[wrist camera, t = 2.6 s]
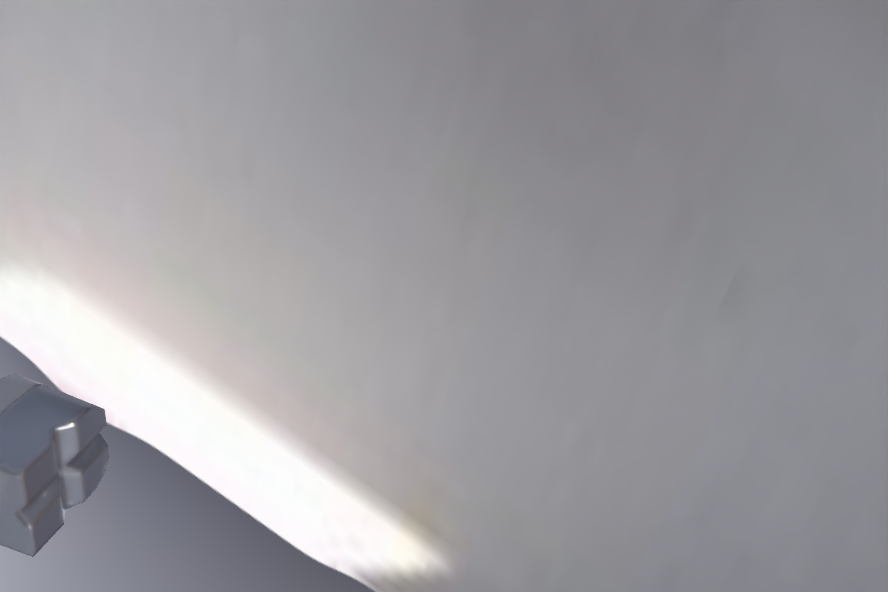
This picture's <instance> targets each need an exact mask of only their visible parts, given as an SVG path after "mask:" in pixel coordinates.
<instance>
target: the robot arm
mask: <svg viewBox="0 0 888 592" xmlns="http://www.w3.org/2000/svg"><path fill="white" fill-rule="evenodd" d="M105 426H106V417H105V410H104V409H102V408H100V407H98V406H95V405H93V404H90V403H88V402H85V401H83V400H80V399H78V398H75V397H73V396H70V395H68V394H66V393H63V392H61V391H58V390H56V389H53V388H50V387H48V386H46V385H43V384H40V383H38V382H35V381H33V380H30V379H27V378H25V377H22V376H20V375H17V374H13V375H9V376H6V377H3V378H1V379H0V545H2V546H5V547H8V548H10V549H13V550H16V551H18V552H21V553H24V554H27V555H29V556H32V557H33V556H35V554H36V553H37V552H38V551H39V550H40V549H41V548H42V547H43V546H44V544H46V543H47V542H48V540H49V539H50V538H51V537H52V536H53V535H54V534H55V533H56V532H57V531H58V530H59V529H60V528H61V526H62V525H63V524H64V517H65V509H67V508H70V507H72V506H75V505H78V504H80V503H83V502H84V501H85V500H86V499H87V498H88V497H89V496H90V495H91V493H92V492H93V491H94V490H95V489H96V488H97V486H98V484H99V482H100V480H101V478H102V477H103V475H104V473H105V471H106V467H107V463H108V458H109V453H108V445H107V443H106V442H105V440H104V439H103V438H102V436H101V435H100V433H99V432H100V431H101V430H102V429H103V428H104V427H105Z"/></svg>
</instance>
